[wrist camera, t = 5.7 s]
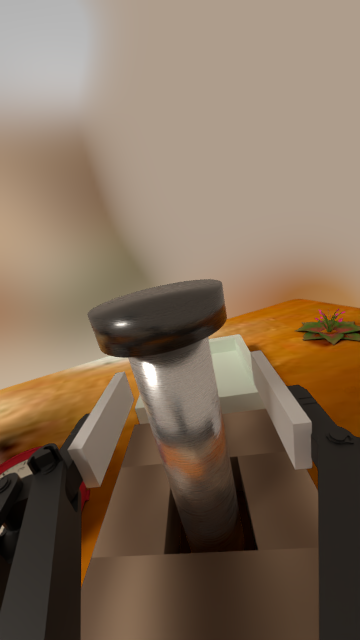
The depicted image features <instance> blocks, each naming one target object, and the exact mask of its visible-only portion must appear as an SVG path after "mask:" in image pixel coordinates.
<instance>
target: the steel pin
mask: <svg viewBox="0 0 360 640" xmlns="http://www.w3.org/2000/svg"><path fill="white" fill-rule="evenodd" d="M88 317H89V320H90V323H91V326H92V328H93V331H94V334H95V336H96V339H97V342H98V345H99V347H100V349H101V351H102V352H103V353H105V354H107V355H110V356H114V357H128V358H129V361H130V364H131V367H132V371H133V374H134V377H135V380H136V383H137V386H138V389H139V392H140V395H141V398H142V401H143V404H144V408H145V411H146V414H147V417H148V420H149V423H150V426H151V429H152V432H153V435H154V438H155V441H156V445H157V448H158V451H159V454H160V457H161V460H162V463H163V466H164V469H165V472H166V475H167V478H168V482H169V485H170V488H171V491H172V494H173V497H174V500H175V503H176V506H177V509H178V512H179V515H180V519H181V522H182V525H183V528H184V531H185V534H186V537H187V540H188V543H189V546H190V549H191V552H192V553H209V552H231V551H243V550H244V533H243V528H242V522H241V517H240V511H239V505H238V500H237V494H236V489H235V483H234V478H233V472H232V467H231V461H230V456H229V450H228V445H227V439H226V434H225V428H224V423H223V417H222V412H221V406H220V400H219V395H218V389H217V384H216V378H215V373H214V367H213V362H212V356H211V351H210V345H209V340H208V336H210V335H212V334H213V333H215V332H216V331H218V330H219V329H220V328H221V327H222V326H223V325H224V323H225V322H226V319H227V315H226V308H225V301H224V294H223V288H222V283H221V282H220V281H218V280H210V279H208V280H193V281H184V282H178V283H173V284H167V285H162V286H158V287H153V288H149V289H145V290H141V291H138V292H134V293H131V294H127V295H124V296H121V297H118V298H115V299H113V300H110V301H107V302H105V303H103V304H101V305H99V306H97V307H95V308H93V309H92V310H90V311H89V312H88Z"/></svg>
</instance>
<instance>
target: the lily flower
mask: <svg viewBox="0 0 360 640" xmlns="http://www.w3.org/2000/svg"><path fill="white" fill-rule="evenodd" d="M338 310H339V309H338ZM338 310H337V311H338ZM319 311H320V312H319V313H320V314H322V313H321V310H319ZM328 311H329V310H328ZM337 311H336V312H337ZM336 312H335V313H336ZM342 313H345V311H344V312H341V313H340V314H342ZM340 314H338V313H337V314H336V315H335V314H334V315H335V316H336V317H335V316H334V315H333V316H334V317H332V318H333V319H332V318H331V320H328V319H327V317H326V316H325V315H324V314H322V315H323V317H324V319H325V320H324V319H323V318H322V317H320V318H322V319H323V321H320V320H319V319H318V318H315V319H316V320H319V321H318V322H317V323H316V322H306V323H303V322H301V323H302V324H303V325H304V326H303V327H301V328H299V329H298V330H296V331H309V332H308V333H306V334H305V335H304V339H303V340H309V339H321V338H325V339H327V340H328V341H329V342H331V343H332V344H333V345H335V343H336V342H338V340H340V339H351V340H358V341H360V334H357V333H353V332H354V331H358V330H360V327H359V326H356V325H354V322H342V320H343V318H342V319H339V320H338V322H337V321H335V320H334V319H336V318H337V316H338V315H340ZM325 317H326V318H325ZM330 317H331V315H330ZM328 318H329V316H328ZM324 329H326V330H327V332H331V330H332V329H333V330H336V331H339V332H337V333H335V334H331V335H330V334H326V333H323V332H320V331H322V330H324ZM316 333H319V334H320V335H321V336H320V337H315V335H316ZM342 333H345V334H346V335H347V336H348V337H343V336H344V334H342Z"/></svg>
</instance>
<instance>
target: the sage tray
mask: <svg viewBox="0 0 360 640" xmlns="http://www.w3.org/2000/svg"><path fill="white" fill-rule="evenodd" d="M208 340H209V345H210V351H211V356H212V362H213V367H214V373H215V378H216V384H217V389H218V395H219V400H220V406H221V412H222V414H226V413H234V412H242V411H250V410H258V409H266V408H265V405H264V403H263V401H262V399H261V397H260V395H259V393H258V391H257V389H256V387H255V384H254V381H253V372H252V363H251V354H250V351H249V349H248V347H247V346H246V344H245V342H244V341H243V339H242V337H241V336H240V334H238V335H232V336H226V337H220V338H214V339H208ZM135 411H136V414H137V417H138V419H139V422H140V424H145V423H149V420H148V417H147V414H146V411H145V408H144V404H143V401H142V398H141V395H140V396H139V398H138V401H137V404H136V407H135Z"/></svg>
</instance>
